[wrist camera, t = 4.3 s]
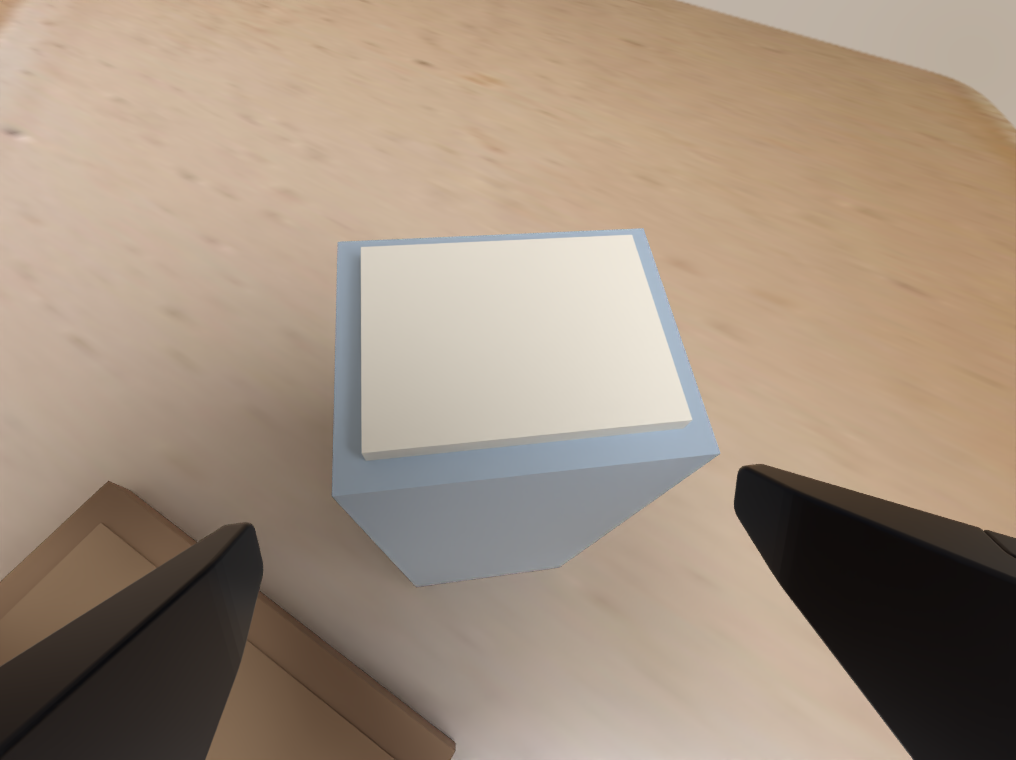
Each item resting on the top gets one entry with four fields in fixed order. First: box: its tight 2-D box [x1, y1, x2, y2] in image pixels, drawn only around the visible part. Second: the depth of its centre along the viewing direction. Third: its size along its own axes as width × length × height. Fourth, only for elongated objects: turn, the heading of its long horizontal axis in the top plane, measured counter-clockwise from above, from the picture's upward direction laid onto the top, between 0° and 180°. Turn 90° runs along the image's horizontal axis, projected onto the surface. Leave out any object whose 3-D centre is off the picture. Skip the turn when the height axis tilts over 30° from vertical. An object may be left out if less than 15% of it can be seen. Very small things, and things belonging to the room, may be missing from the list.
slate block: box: [332, 228, 720, 587], centre depth 13 cm, size 4×5×13 cm
